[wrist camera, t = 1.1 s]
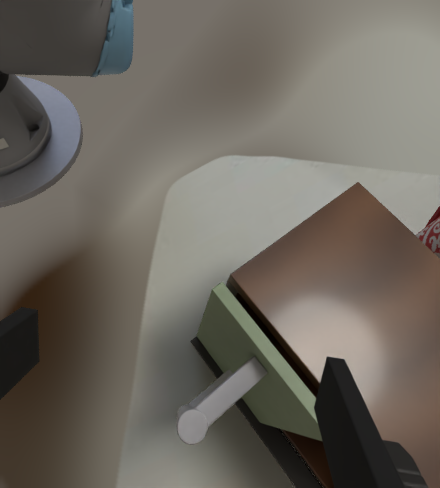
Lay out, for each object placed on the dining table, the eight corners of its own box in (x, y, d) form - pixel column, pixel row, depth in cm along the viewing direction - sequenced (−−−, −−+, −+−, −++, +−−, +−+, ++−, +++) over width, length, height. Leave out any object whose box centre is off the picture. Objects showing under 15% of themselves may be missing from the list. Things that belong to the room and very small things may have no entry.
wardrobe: (190, 341, 33) (202, 294, 18) (285, 267, 38) (358, 181, 23) (319, 519, 28) (487, 662, 13) (409, 407, 33) (608, 415, 18)
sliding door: (147, 373, 31) (123, 353, 17) (202, 331, 33) (222, 281, 19) (211, 470, 28) (247, 545, 14) (266, 416, 30) (345, 433, 16)
